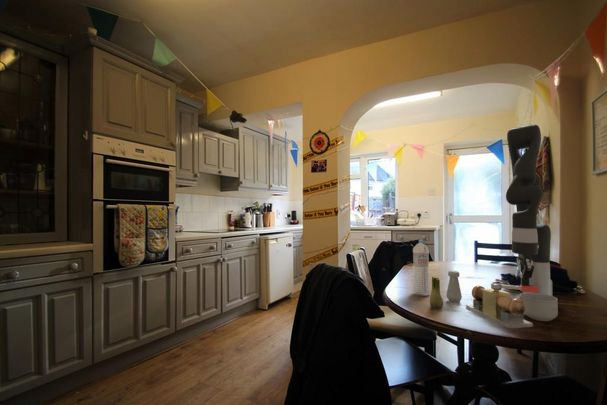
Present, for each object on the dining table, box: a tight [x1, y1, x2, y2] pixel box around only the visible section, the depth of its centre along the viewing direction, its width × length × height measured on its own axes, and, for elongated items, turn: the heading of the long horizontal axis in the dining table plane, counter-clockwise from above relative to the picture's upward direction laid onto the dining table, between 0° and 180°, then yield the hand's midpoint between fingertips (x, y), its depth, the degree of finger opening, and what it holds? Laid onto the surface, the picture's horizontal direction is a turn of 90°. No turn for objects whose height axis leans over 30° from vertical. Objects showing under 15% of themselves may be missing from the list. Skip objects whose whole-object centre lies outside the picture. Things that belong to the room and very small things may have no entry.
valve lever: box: [490, 282, 538, 293], centre depth 104 cm, size 14×3×2 cm, turn 68°
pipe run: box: [465, 285, 534, 329], centre depth 106 cm, size 9×20×10 cm, turn 8°
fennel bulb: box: [429, 276, 444, 310], centre depth 115 cm, size 6×5×12 cm
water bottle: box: [412, 239, 430, 297], centre depth 134 cm, size 7×7×25 cm
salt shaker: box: [445, 269, 463, 304], centre depth 123 cm, size 6×6×13 cm
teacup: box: [519, 292, 559, 322], centre depth 106 cm, size 14×11×8 cm
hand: (525, 288), depth 105 cm, fingers closed
